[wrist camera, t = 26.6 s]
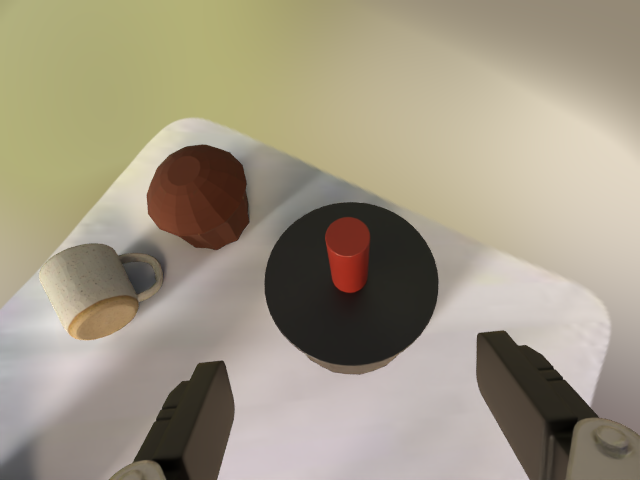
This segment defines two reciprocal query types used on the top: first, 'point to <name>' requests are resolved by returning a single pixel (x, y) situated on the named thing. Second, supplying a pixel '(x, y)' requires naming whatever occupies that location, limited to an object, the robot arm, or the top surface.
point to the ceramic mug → (94, 289)
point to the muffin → (200, 196)
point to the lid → (351, 284)
